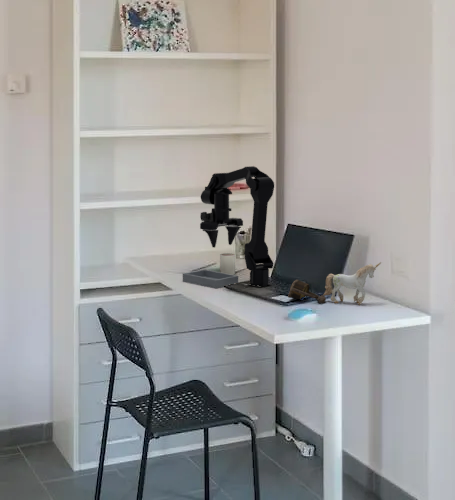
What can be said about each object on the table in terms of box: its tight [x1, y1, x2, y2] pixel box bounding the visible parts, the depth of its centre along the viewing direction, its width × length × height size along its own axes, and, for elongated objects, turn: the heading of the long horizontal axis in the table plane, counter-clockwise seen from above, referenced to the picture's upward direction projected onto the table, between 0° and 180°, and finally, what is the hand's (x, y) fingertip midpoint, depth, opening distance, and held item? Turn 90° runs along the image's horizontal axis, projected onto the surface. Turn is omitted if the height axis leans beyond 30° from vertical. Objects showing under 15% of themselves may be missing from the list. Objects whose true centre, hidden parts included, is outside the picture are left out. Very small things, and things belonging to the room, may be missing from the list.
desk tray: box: [182, 269, 239, 289], centre depth 329 cm, size 18×12×3 cm, turn 46°
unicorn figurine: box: [322, 261, 382, 306], centre depth 297 cm, size 7×20×13 cm, turn 89°
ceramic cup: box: [219, 252, 237, 275], centre depth 344 cm, size 6×6×8 cm
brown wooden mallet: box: [287, 279, 327, 304], centre depth 300 cm, size 7×13×10 cm
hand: (222, 246), depth 342 cm, fingers open, 9 cm apart
